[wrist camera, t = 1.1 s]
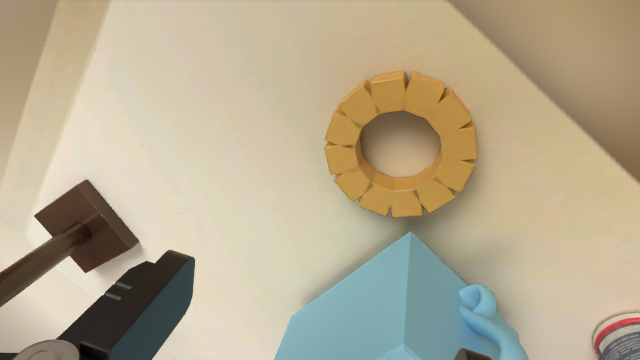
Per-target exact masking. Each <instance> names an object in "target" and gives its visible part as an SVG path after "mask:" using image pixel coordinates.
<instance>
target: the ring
mask: <svg viewBox="0 0 640 360" xmlns="http://www.w3.org/2000/svg"><path fill="white" fill-rule="evenodd" d="M396 111H406V112H409V113H411V114H414V115H417V116H419V117H422V118H425V119H426V120H427V121H428V123H429V124H430V125H431V126H432V128H433V129H434V130H435V131H436V133H437V134H438V135H439V136H440V144H441V149H440V151H439V153H438V155H437V157H436V159H435V161H434V163H433V165H432V166H430V167H429V168H427V169H426V170H424V171H423V172H421V173H420V174H418V175H417V176H415V177H406V178H397V179H394V178H392V177H389V176H386V175H384V174H381V173H379V172H376V171H375V170H374V169H373V168H372V166H371V165H370V164H369V163H368V162H367V161H366V159H365V158H364V157H363V154H362V149H361V143H360V138H359V137H360V135H361V132H362V129H363V127H364V126H365V125H367V124H368V123H369V122H370V121H372V120H373V119H374V118H376V117H377V116H378V115H379V114H383V113H390V112H396ZM325 141H328V142H327V144H326V145H325V147H324V148H325V153H326V157H327V162H328V166H329V170H330V174H331V175H333V174H337V175H336V177H335V179H334V182H335V183H336V184H337V185H338V186H339V187H340V188H341V189H342V191H343V192H344V193H345V194H346V195H347V196H348V197H349V198H350V199H351V201H352V202H353V201H355V200H356V199H358V198H359V197H361V198H360V202H359V206H360V207H363V208H365V209H368V210H370V211H373V212H376V213H378V214H381V215H383V216H386V215H387V213H388V211H389V208H390V206H391V212H392V217H406V216H419V215H423V206H424V208H425V209H426V210H427V211H428V212H429V213H431V212H432V211H434V210H436V209H437V208H439V207H441V206H442V205H444V204H446V203H447V202H449V201H451V200H452V199H454V198H455V191H454V190H456V191H459V192H461V191H462V189H463V187H464V185H465V184H466V182H467V180H468V178H469V176H470V175H471V173H472V171H473V169H474V167H475V164H474V160H473V159H477V148H476V135H475V126H474V124H473V121H472V118H471V116H470V113H469V110H468V109H467V108H466V106H465V105H464V104H463V103H462V101H461V100H460V99H459V98H458V96H457V95H456V94H455V92H454V91H453V90H452V89H451V87H448V88H447V89H445V90H444V84H443V82H442V81H439V80H436V79H434V78H431V77H428V76H425V75H423V74H420V73H417V72H414V71H413V72H412V74H411V76H410V79H409V81H408V83H407V80H406V72H405V71H399V72H393V73H388V74H382V75H377V76H374V77H373V78H372V80H371V82H370V83H369V81H368V80H365V81H364V82H363V83H362V84H360V85H359V86H358V87H357V88H356V89H354V90H353V91H352V92H351V93H350V94H349V95H347V96H346V97H345V98H344V99H343V101H342V102H341V103H340V105H339V107H338V108H337V109H336V111H335V112H334V114H333V117H332V120H331V123H330V126H329V129H328V131H327V134H326V137H325Z"/></svg>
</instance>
